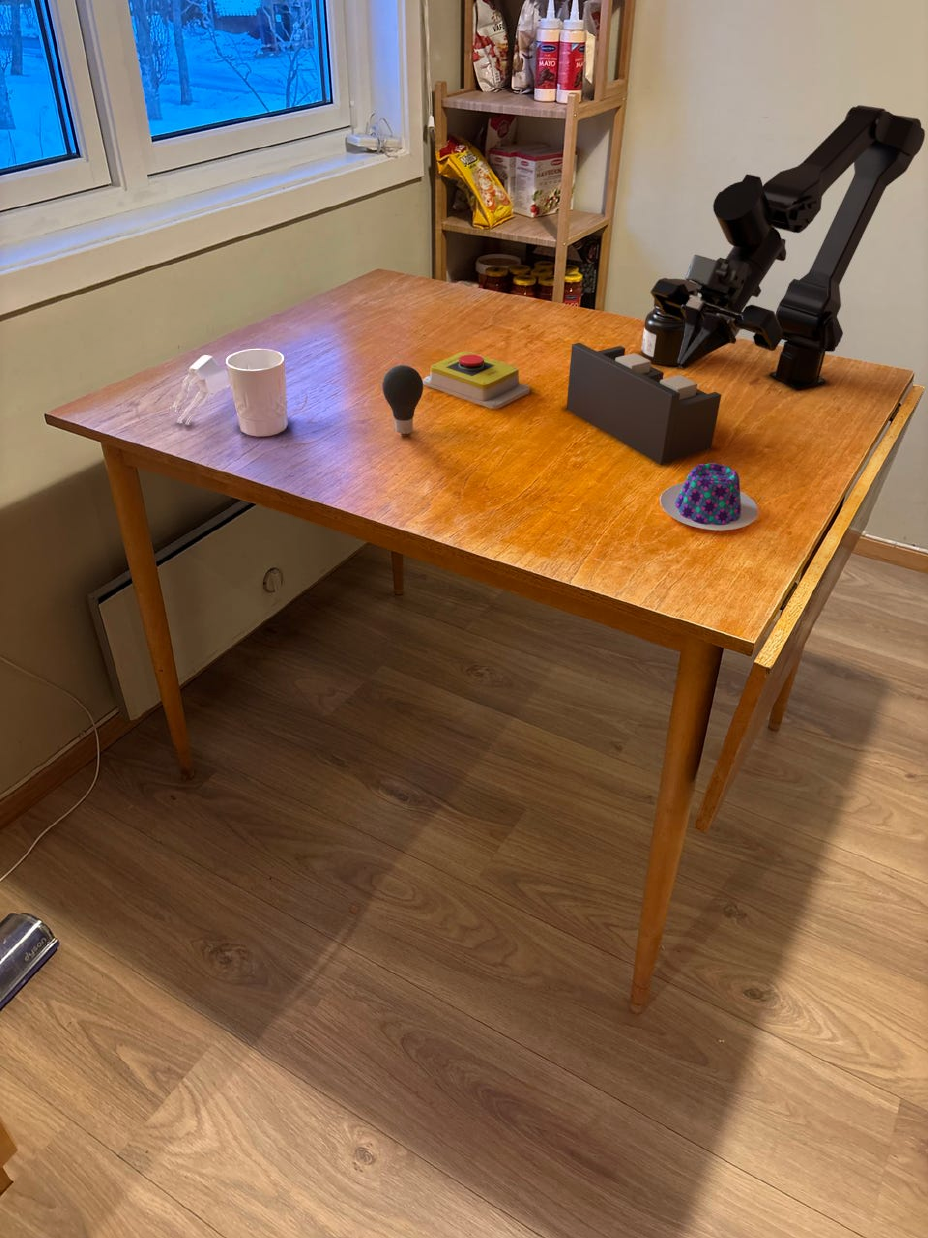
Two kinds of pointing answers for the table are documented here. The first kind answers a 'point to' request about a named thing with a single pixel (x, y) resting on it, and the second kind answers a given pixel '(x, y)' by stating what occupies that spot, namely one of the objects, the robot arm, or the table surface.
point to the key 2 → (681, 386)
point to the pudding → (710, 499)
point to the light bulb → (403, 395)
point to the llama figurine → (202, 384)
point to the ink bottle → (664, 333)
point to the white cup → (259, 391)
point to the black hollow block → (638, 406)
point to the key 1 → (635, 362)
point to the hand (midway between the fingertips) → (680, 366)
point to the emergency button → (477, 380)
